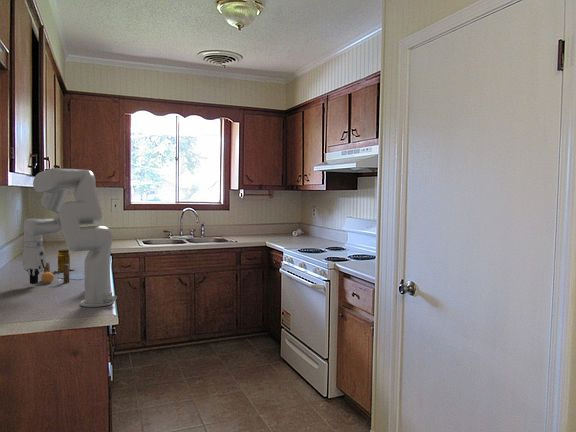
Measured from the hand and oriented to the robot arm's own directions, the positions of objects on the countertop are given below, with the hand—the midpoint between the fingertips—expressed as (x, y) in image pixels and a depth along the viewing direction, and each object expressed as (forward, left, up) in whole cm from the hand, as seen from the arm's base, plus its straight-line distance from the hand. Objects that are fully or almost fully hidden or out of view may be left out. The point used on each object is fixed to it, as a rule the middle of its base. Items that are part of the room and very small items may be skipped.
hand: (33, 283), depth 209 cm
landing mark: (0, -27, -2) cm, 27 cm away
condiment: (+20, -38, -2) cm, 43 cm away
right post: (-6, -13, -2) cm, 15 cm away
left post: (+6, -13, -2) cm, 15 cm away
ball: (+1, -8, +1) cm, 9 cm away
